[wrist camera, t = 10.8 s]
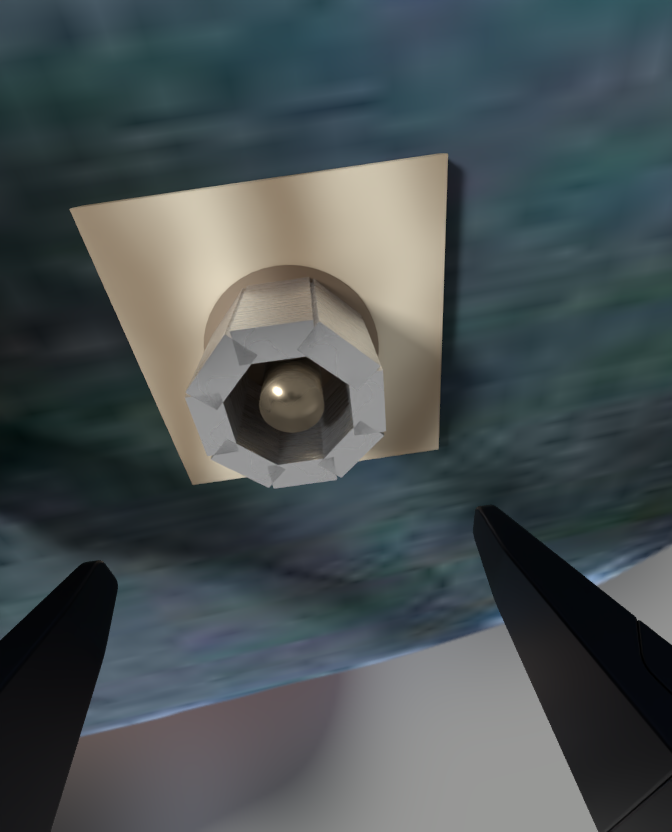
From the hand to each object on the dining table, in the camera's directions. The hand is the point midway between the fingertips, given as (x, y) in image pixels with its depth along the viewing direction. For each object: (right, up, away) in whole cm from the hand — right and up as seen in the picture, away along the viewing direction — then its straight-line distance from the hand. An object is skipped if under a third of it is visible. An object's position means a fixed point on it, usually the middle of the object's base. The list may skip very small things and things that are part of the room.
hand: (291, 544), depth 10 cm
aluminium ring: (-1, +6, +9) cm, 11 cm away
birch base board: (-1, +6, +10) cm, 12 cm away
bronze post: (-1, +6, +10) cm, 12 cm away
